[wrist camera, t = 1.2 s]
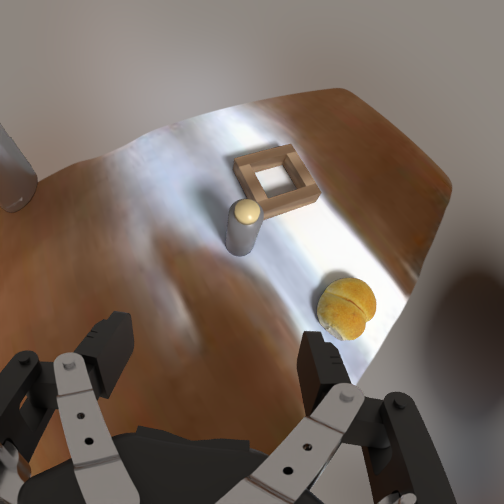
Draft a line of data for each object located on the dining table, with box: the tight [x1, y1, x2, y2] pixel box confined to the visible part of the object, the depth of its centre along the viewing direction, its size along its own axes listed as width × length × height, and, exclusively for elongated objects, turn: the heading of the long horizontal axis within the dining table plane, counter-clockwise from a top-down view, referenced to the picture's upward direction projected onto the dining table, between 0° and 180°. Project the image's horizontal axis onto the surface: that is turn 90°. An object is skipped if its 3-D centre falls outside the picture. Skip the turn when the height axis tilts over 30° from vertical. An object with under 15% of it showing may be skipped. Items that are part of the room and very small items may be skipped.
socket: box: [233, 144, 321, 220], centre depth 44 cm, size 10×10×3 cm
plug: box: [225, 199, 264, 256], centre depth 37 cm, size 4×4×10 cm
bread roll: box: [317, 278, 376, 341], centre depth 39 cm, size 8×9×4 cm
